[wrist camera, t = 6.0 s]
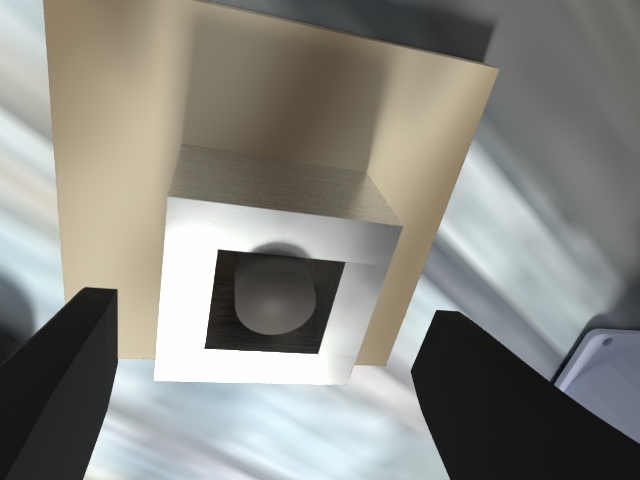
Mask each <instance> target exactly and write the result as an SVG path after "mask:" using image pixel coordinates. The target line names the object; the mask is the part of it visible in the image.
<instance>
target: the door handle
mask: <svg viewBox="0 0 640 480" xmlns="http://www.w3.org/2000/svg"><path fill="white" fill-rule="evenodd" d="M20 347H21V345H20V344H19V343H18V342H17V341H16V340H15V339H13V338H11V337H10V336H7V335H5V334H2V333H0V365H1V364H2V363H3V362H4V361H5V360H6V359H8V358H9V357H10V356H11V355H12V354H13V353H14V352H15V351H17V350H18V349H19V348H20Z"/></svg>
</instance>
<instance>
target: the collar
mask: <svg viewBox="0 0 640 480" xmlns="http://www.w3.org/2000/svg"><path fill="white" fill-rule="evenodd" d="M402 229H403V225H402V223H401V222H400V220H399V219H398V217H397V216H396V215H395V213H394V212H393V210H392V209H391V207H390V206H389V204H388V203H387V201H386V200H385V198H384V197H383V195H382V194H381V193H380V191H379V190H378V188H377V187H376V185H375V184H374V182H373V181H372V179H371V178H370V176H369V175H368V173H367V172H360V171H354V170H348V169H341V168H335V167H328V166H322V165H316V164H309V163H303V162H296V161H290V160H284V159H277V158H271V157H264V156H258V155H252V154H245V153H239V152H232V151H226V150H220V149H213V148H207V147H200V146H194V145H188V144H181V147H180V151H179V155H178V159H177V163H176V167H175V170H174V174H173V178H172V182H171V186H170V189H169V193H168V198H167V212H166V226H165V240H164V254H163V268H162V282H161V296H160V310H159V324H158V338H157V352H156V366H155V380H170V381H211V382H252V383H293V384H334V385H347V384H348V381H349V378H350V375H351V372H352V370H353V367H354V364H355V361H356V358H357V355H358V353H359V350H360V347H361V344H362V341H363V339H364V336H365V333H366V330H367V327H368V325H369V322H370V319H371V316H372V313H373V311H374V308H375V305H376V302H377V299H378V296H379V294H380V291H381V288H382V285H383V282H384V280H385V277H386V274H387V271H388V268H389V266H390V263H391V260H392V257H393V254H394V251H395V249H396V246H397V243H398V240H399V237H400V235H401V232H402ZM218 249H222V250H232V251H242V252H252V253H262V254H272V255H282V256H292V257H302V258H307V264H308V268H309V272H310V275H311V279H312V283H313V287H314V290H315V294H316V306H315V309H314V311H313V313H312V315H311V317H310V318H309V319H308V320H307V321H306V322H305V323H304V324H303V325H302V326H300V327H299V328H297V329H295V330H293V331H290V332H287V333H284V334H278V335H267V334H261V333H257V332H255V331H252V330H250V329H249V328H247V327H246V326H245V325H244V324H243V323H242V322H241V321H240V320H239V318H238V316H237V314H236V310H235V280H234V277H226V276H214V272H215V265H216V258H217V250H218Z"/></svg>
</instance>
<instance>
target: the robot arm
mask: <svg viewBox="0 0 640 480" xmlns="http://www.w3.org/2000/svg"><path fill="white" fill-rule="evenodd" d="M117 365H118V289H109V288H93V287H84V288H83V289H82V290H80V291H79V292H78V293H77V294H76V295H75V296H74V297H73V298H72V299H71V300H70V301H69V302H68V303H67V304H66V305H65V306H64V307H63V308H62V309H61V310H60V311H59V312H58V313H57V314H56V315H55V316H54V317H52V318H51V319H50V320H49V321H48V322H47V323H46V324H45V325H44V326H43V327H42V328H41V329H40V330H39V331H38V332H37V333H36V334H34V335H33V336H32V337H31V338H30V339H29V340H28V341H27V342H25V343H24V344H23V345H22V346H21V347H20V348H19V349H18V350H17V351H15V352H14V353H13V354H12V355H11V356H10V357H9V358H8V359H6V360H5V361H4V362H3V363H2V364H1V365H0V480H83V478H84V475H85V472H86V470H87V467H88V464H89V461H90V458H91V455H92V452H93V450H94V447H95V444H96V441H97V438H98V435H99V432H100V430H101V427H102V424H103V421H104V418H105V415H106V412H107V409H108V405H109V400H110V396H111V392H112V387H113V383H114V378H115V374H116V369H117ZM411 374H412V378H413V382H414V386H415V390H416V394H417V397H418V401H419V404H420V408H421V411H422V413H423V416H424V418H425V421H426V423H427V426H428V428H429V431H430V433H431V435H432V438H433V440H434V443H435V445H436V447H437V450H438V452H439V454H440V457H441V459H442V461H443V464H444V466H445V468H446V471H447V473H448V475H449V478H450V480H640V331H633V330H615V329H594V330H591V331H590V332H588V333H587V334H586V336H585V337H584V339H583V340H582V342H581V343H580V345H579V346H578V348H577V349H576V351H575V353H574V354H573V356H572V357H571V359H570V360H569V362H568V363H567V365H566V367H565V368H564V370H563V371H562V373H561V374H560V376H559V377H558V379H557V381H556V382H555V384H554V385H553V384H552V383H551V382H549V381H548V380H547V379H545V378H544V377H543V376H542V375H540V374H539V373H538V372H536V371H535V370H534V369H533V368H531V367H530V366H529V365H527V364H526V363H525V362H524V361H522V360H521V359H520V358H519V357H517V356H516V355H515V354H514V353H512V352H511V351H510V350H509V349H507V348H506V347H505V346H504V345H502V344H501V343H500V342H499V341H497V340H496V339H495V338H494V337H492V336H491V335H490V334H489V333H487V332H486V331H485V330H483V329H482V328H481V327H480V326H478V325H477V324H476V323H474V322H473V321H472V320H470V319H469V318H468V317H466V316H465V315H463V314H462V313H460V312H459V311H444V310H436V312H435V314H434V317H433V319H432V322H431V324H430V326H429V329H428V331H427V333H426V336H425V338H424V341H423V343H422V345H421V348H420V350H419V352H418V355H417V357H416V360H415V362H414V364H413V367H412V369H411Z"/></svg>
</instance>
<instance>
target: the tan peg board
mask: <svg viewBox="0 0 640 480" xmlns="http://www.w3.org/2000/svg"><path fill="white" fill-rule="evenodd" d="M43 5H44V19H45V32H46V46H47V60H48V74H49V88H50V102H51V115H52V129H53V143H54V157H55V171H56V185H57V199H58V212H59V226H60V240H61V254H62V268H63V282H64V296H65V305H66V304H67V303H68V302H69V301H70V300H71V299H72V298H73V297H74V296H75V295H76V294H77V293H78V292H79V291H80V290H82V289H83V288H84V287H93V288H109V289H118V359H148V360H156V352H157V338H158V324H159V310H160V296H161V282H162V268H163V254H164V240H165V226H166V212H167V198H168V193H169V189H170V186H171V182H172V178H173V174H174V170H175V167H176V163H177V159H178V155H179V151H180V147H181V144H188V145H194V146H200V147H207V148H213V149H220V150H226V151H232V152H239V153H245V154H252V155H258V156H264V157H271V158H277V159H284V160H290V161H296V162H303V163H309V164H316V165H322V166H328V167H335V168H341V169H348V170H354V171H360V172H367V173H368V175H369V176H370V178H371V179H372V181H373V182H374V184H375V185H376V187H377V188H378V190H379V191H380V193H381V194H382V195H383V197H384V198H385V200H386V201H387V203H388V204H389V206H390V207H391V209H392V210H393V212H394V213H395V215H396V216H397V217H398V219H399V220H400V222H401V223H402V225H403V229H402V232H401V235H400V237H399V240H398V243H397V246H396V249H395V251H394V254H393V257H392V260H391V263H390V266H389V268H388V271H387V274H386V277H385V280H384V282H383V285H382V288H381V291H380V294H379V296H378V299H377V302H376V305H375V308H374V311H373V313H372V316H371V319H370V322H369V325H368V327H367V330H366V333H365V336H364V339H363V341H362V344H361V347H360V350H359V353H358V355H357V358H356V361H355V364H354V365H375V366H386V363H387V361H388V358H389V356H390V353H391V350H392V348H393V345H394V343H395V340H396V337H397V335H398V332H399V330H400V327H401V324H402V322H403V319H404V317H405V314H406V311H407V309H408V306H409V304H410V301H411V298H412V296H413V293H414V291H415V288H416V285H417V283H418V280H419V278H420V275H421V272H422V270H423V267H424V265H425V262H426V259H427V257H428V254H429V252H430V249H431V246H432V244H433V241H434V239H435V236H436V233H437V231H438V228H439V226H440V223H441V220H442V218H443V215H444V213H445V210H446V207H447V205H448V202H449V200H450V197H451V194H452V192H453V189H454V186H455V184H456V181H457V179H458V176H459V173H460V171H461V168H462V166H463V163H464V160H465V158H466V155H467V153H468V150H469V147H470V145H471V142H472V140H473V137H474V134H475V132H476V129H477V127H478V124H479V121H480V119H481V116H482V114H483V111H484V108H485V106H486V103H487V101H488V98H489V95H490V93H491V90H492V88H493V85H494V82H495V80H496V77H497V75H498V72H499V68H496V67H493V66H491V65H488V64H485V63H482V62H478V61H473V60H469V59H464V58H460V57H455V56H451V55H446V54H442V53H437V52H433V51H429V50H424V49H420V48H415V47H411V46H406V45H402V44H397V43H393V42H388V41H384V40H380V39H375V38H371V37H366V36H362V35H357V34H353V33H348V32H344V31H339V30H335V29H331V28H326V27H322V26H317V25H313V24H308V23H304V22H299V21H295V20H290V19H286V18H282V17H277V16H273V15H268V14H264V13H259V12H255V11H250V10H246V9H241V8H237V7H232V6H228V5H224V4H219V3H215V2H210V1H206V0H43ZM214 276H226V277H234V280H235V310H236V314H237V316H238V318H239V320H240V321H241V322H242V323H243V324H244V325H245V326H246V327H247V328H249V329H250V330H252V331H255V332H257V333H261V334H267V335H278V334H284V333H287V332H290V331H293V330H295V329H297V328H299V327H300V326H302V325H303V324H304V323H305V322H306V321H307V320H308V319H309V318H310V317H311V315H312V313H313V311H314V309H315V306H316V294H315V290H314V287H313V283H312V279H311V275H310V272H309V268H308V264H307V258H302V257H292V256H282V255H272V254H262V253H252V252H242V251H232V250H222V249H218V250H217V258H216V265H215V272H214Z"/></svg>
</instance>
